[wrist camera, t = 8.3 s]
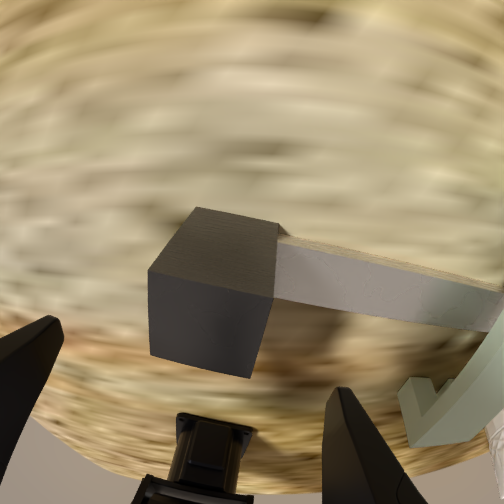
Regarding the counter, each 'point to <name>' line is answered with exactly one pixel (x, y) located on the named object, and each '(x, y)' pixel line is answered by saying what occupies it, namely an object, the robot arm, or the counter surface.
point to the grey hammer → (286, 289)
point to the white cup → (497, 448)
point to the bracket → (457, 397)
